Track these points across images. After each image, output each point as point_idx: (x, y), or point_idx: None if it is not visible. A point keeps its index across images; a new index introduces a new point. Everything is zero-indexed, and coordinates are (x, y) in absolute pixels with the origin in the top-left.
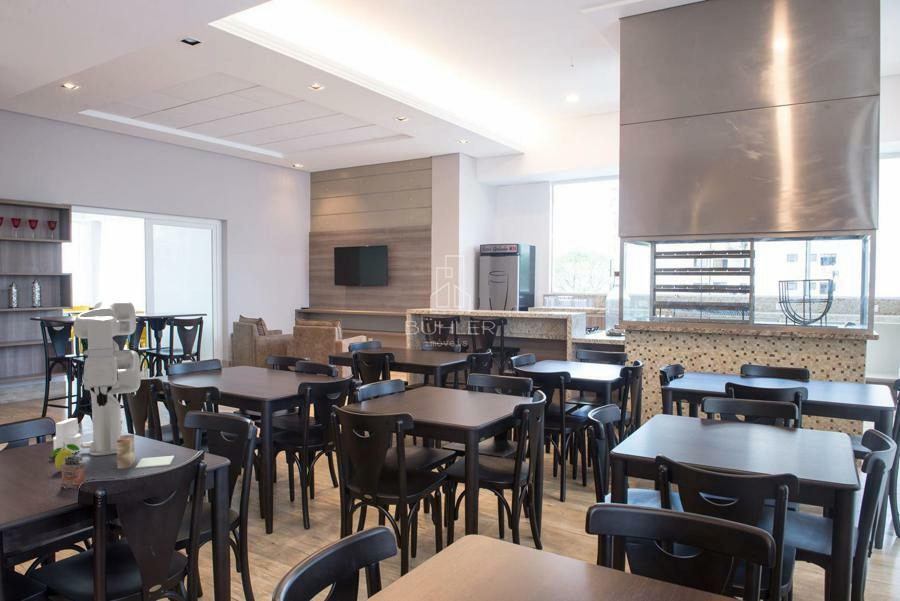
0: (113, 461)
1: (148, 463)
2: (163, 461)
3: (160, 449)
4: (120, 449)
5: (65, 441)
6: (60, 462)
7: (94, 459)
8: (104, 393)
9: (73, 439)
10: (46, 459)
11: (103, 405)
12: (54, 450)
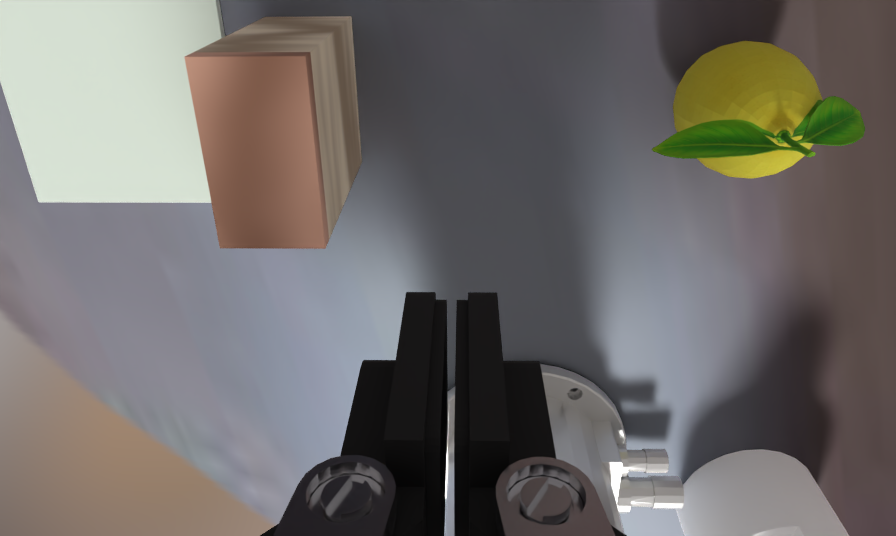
0: (433, 219)
1: (146, 47)
2: (51, 67)
3: (214, 392)
4: (296, 41)
5: (781, 512)
6: (767, 44)
7: (566, 302)
8: (358, 486)
9: (737, 529)
10: (847, 388)
11: (409, 292)
12: (857, 136)
